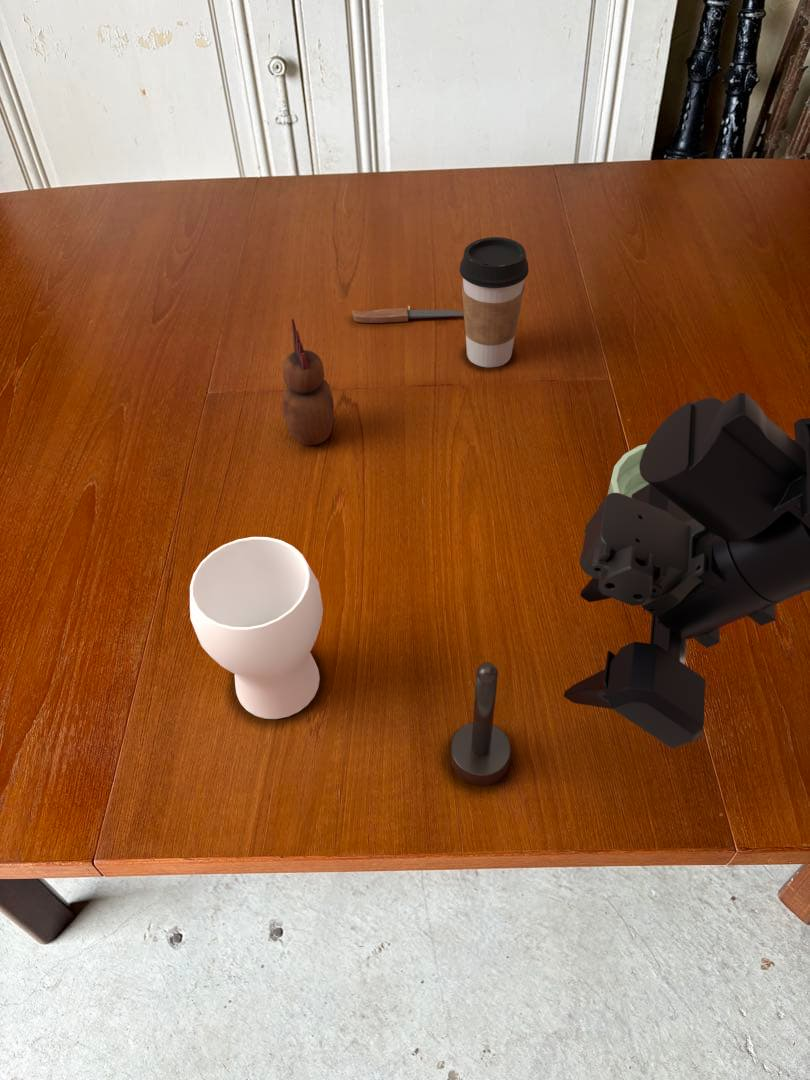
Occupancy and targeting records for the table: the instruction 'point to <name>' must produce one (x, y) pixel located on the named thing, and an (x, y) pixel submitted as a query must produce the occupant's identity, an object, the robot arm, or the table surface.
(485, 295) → the coffee cup
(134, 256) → the table surface
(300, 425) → the wooden figurine
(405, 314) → the knife
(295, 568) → the cup
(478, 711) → the joystick
